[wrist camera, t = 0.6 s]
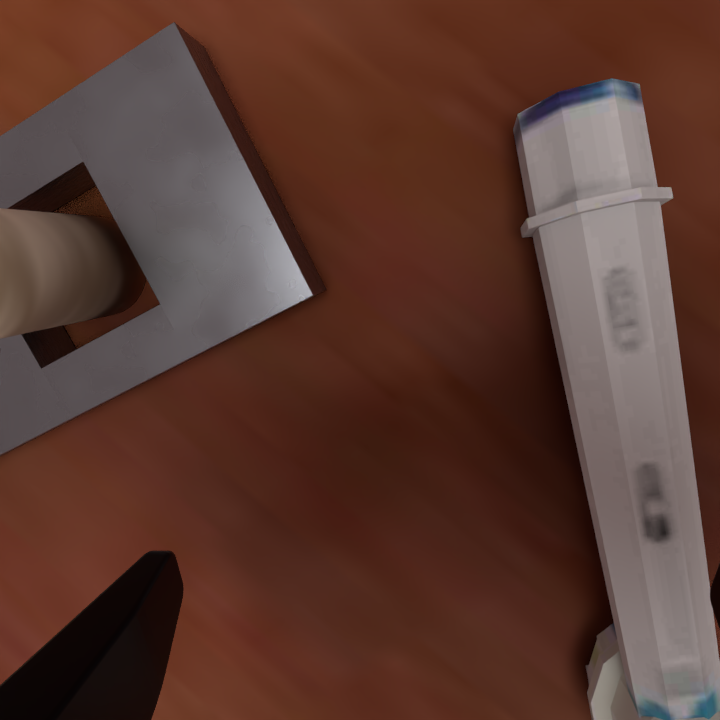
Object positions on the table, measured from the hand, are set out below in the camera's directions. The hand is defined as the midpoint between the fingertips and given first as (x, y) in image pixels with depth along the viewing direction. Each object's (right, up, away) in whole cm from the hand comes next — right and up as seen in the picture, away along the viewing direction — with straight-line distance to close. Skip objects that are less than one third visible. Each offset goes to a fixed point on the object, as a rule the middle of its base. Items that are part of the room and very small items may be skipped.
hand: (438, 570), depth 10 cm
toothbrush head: (+8, 0, +13) cm, 16 cm away
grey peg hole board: (-16, +5, +15) cm, 23 cm away
